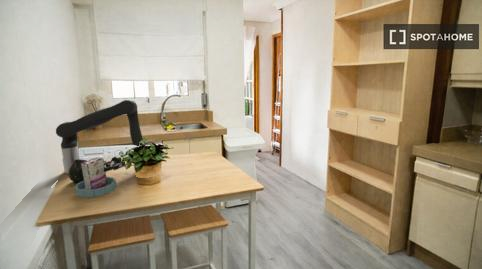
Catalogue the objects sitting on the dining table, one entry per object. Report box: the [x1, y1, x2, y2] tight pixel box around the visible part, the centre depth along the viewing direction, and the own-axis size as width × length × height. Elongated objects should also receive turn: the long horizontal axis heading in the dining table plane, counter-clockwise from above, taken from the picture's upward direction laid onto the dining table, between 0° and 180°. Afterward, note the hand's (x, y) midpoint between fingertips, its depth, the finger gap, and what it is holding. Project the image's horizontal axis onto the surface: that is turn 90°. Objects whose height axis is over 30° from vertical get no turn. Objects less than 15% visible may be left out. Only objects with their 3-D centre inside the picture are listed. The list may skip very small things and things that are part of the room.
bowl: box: [74, 176, 117, 199], centre depth 164 cm, size 20×20×4 cm
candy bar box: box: [81, 156, 107, 190], centre depth 163 cm, size 11×5×16 cm, turn 160°
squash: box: [68, 158, 88, 184], centre depth 177 cm, size 14×15×15 cm
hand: (98, 169), depth 165 cm, fingers open, 8 cm apart
